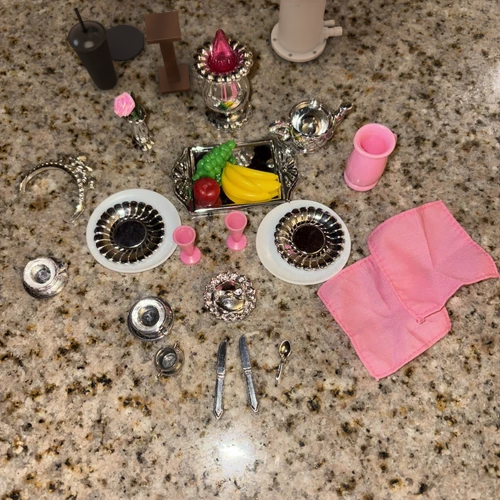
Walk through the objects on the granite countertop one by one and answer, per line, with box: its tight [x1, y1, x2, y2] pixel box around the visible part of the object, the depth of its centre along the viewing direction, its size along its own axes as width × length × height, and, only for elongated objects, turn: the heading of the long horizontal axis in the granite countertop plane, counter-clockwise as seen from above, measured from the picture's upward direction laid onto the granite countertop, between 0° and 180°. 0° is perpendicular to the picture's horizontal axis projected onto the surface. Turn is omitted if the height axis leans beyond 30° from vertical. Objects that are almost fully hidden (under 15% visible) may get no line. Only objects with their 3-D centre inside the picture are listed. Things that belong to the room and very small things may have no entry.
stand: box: [143, 10, 192, 95], centre depth 101 cm, size 6×6×16 cm
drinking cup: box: [67, 7, 118, 91], centre depth 99 cm, size 8×8×20 cm
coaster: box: [106, 24, 145, 62], centre depth 112 cm, size 10×10×1 cm
